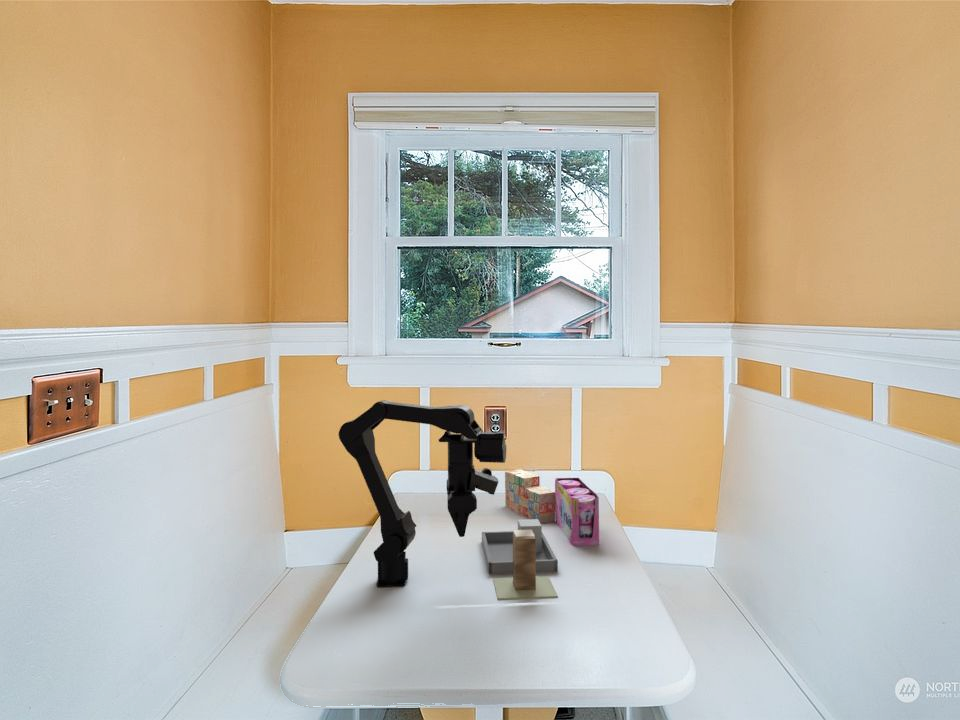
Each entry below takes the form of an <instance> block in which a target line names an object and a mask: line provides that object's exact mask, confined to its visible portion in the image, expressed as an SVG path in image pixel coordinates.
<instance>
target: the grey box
mask: <svg viewBox="0 0 960 720" xmlns="http://www.w3.org/2000/svg"><path fill="white" fill-rule="evenodd" d="M542 528H543V527H542V523H540V522H539V520H538V519H529V518H528V519H527V518H526V519H517V530H532V531H533V533H534V535H535V539H536V552H542V533H543V529H542Z"/></svg>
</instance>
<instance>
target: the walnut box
mask: <svg viewBox="0 0 960 720" xmlns="http://www.w3.org/2000/svg"><path fill="white" fill-rule="evenodd" d="M512 531H513V574H512V578H513V584H514V587H515V591H520V590H536V577H537V575H536V574H537V573H536V539H535V535H534V533H533V531H532V530H518V529H513V530H512Z"/></svg>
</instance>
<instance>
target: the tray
mask: <svg viewBox="0 0 960 720" xmlns="http://www.w3.org/2000/svg"><path fill="white" fill-rule="evenodd" d="M481 545H482V549H483V554H484V559H485V563H486V564H485V565H486V568H487V573H488V575H507V574H510V575H511V574H512V575H513V530H510V531H509V530H508V531H507V530H506V531H505V530H504V531H503V530H500V531H482V532H481ZM558 572H559V567H558V558H557V556H556V555H555V553H554V551H553V550H552V547H551V546H550V544H549V542H548V540H547V538H546V537H545V535H544V532H542V552H536V574H537V573H558Z"/></svg>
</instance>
